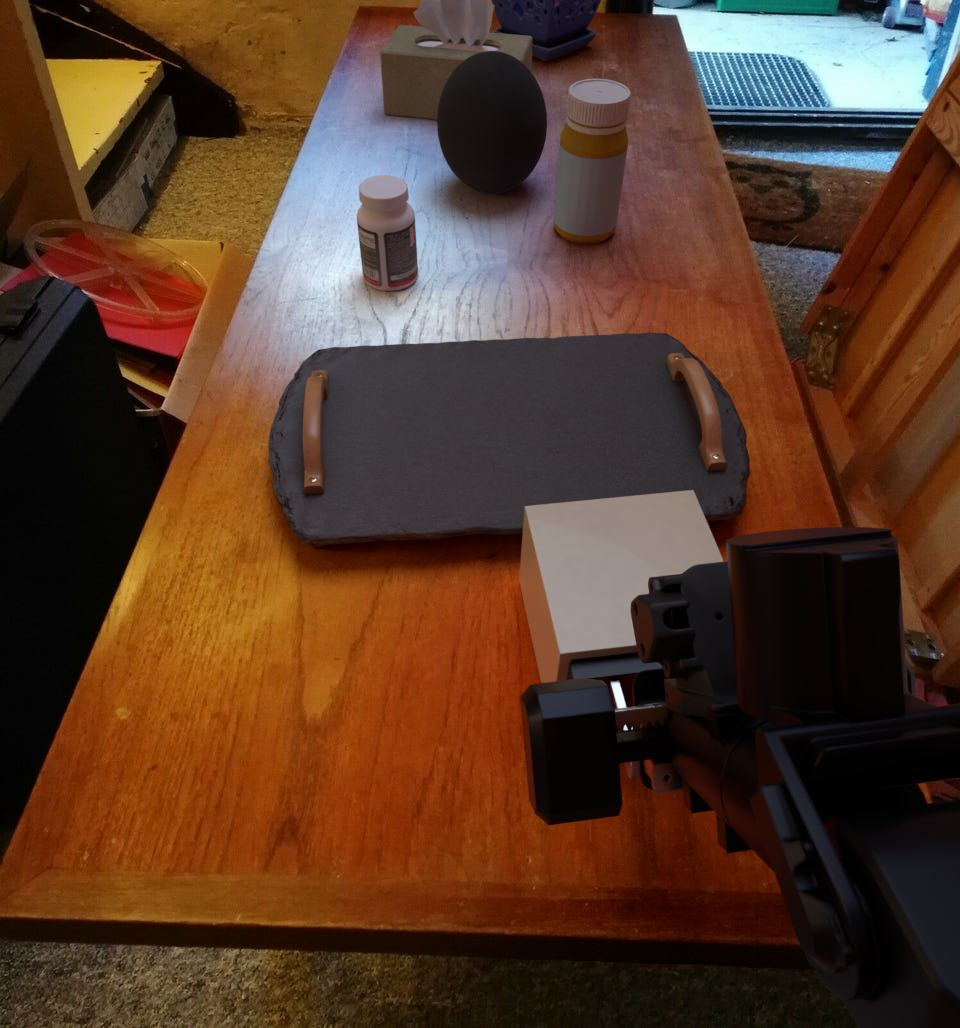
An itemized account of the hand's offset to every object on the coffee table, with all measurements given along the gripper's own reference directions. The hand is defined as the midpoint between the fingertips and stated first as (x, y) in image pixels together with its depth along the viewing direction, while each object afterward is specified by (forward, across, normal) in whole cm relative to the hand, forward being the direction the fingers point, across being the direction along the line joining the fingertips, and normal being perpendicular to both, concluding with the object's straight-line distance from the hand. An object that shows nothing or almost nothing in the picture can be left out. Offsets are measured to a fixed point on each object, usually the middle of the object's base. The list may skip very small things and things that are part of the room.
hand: (663, 687), depth 49 cm
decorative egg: (+56, -1, -46) cm, 72 cm away
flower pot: (+86, -16, -77) cm, 117 cm away
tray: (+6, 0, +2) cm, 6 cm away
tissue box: (+72, 0, -63) cm, 95 cm away
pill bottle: (+43, +12, -34) cm, 56 cm away
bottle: (+48, -10, -39) cm, 63 cm away
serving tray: (+24, +4, -15) cm, 29 cm away
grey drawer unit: (+10, 0, -1) cm, 10 cm away
